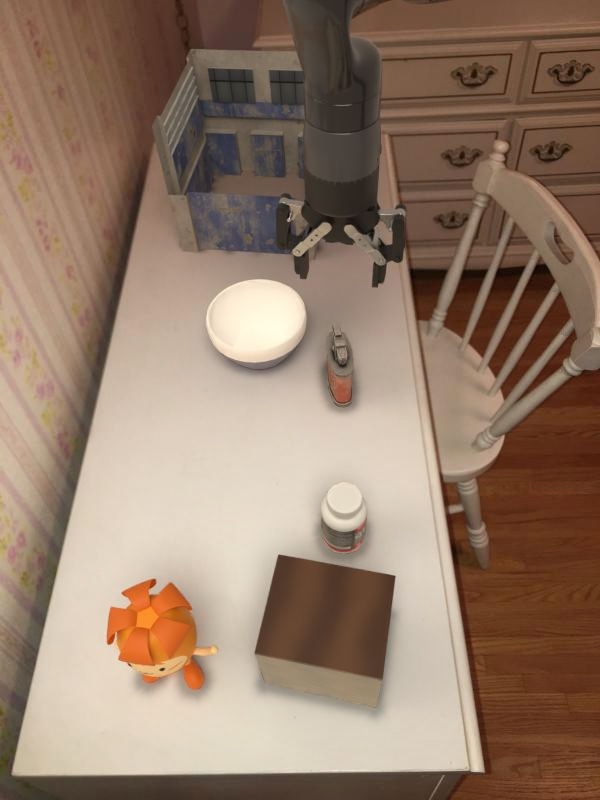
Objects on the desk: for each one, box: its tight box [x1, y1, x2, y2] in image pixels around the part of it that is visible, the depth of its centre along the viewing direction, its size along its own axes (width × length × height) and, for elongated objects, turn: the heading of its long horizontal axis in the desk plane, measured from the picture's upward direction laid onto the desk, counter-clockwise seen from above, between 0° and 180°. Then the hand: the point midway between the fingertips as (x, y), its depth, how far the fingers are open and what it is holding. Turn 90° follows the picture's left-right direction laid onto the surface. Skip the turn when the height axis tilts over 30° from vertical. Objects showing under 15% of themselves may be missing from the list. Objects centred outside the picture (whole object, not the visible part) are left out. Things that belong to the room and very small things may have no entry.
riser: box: [254, 553, 397, 708], centre depth 67 cm, size 12×10×12 cm
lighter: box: [325, 322, 354, 409], centre depth 89 cm, size 8×3×10 cm, turn 8°
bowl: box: [205, 278, 308, 370], centre depth 95 cm, size 14×14×8 cm
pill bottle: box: [320, 481, 368, 555], centre depth 76 cm, size 5×5×10 cm
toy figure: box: [106, 578, 219, 691], centre depth 66 cm, size 12×8×15 cm, turn 81°
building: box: [151, 48, 318, 261], centre depth 108 cm, size 23×24×23 cm
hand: (340, 278), depth 76 cm, fingers open, 8 cm apart
